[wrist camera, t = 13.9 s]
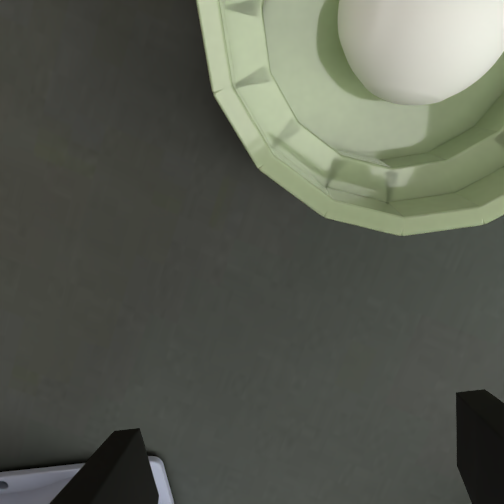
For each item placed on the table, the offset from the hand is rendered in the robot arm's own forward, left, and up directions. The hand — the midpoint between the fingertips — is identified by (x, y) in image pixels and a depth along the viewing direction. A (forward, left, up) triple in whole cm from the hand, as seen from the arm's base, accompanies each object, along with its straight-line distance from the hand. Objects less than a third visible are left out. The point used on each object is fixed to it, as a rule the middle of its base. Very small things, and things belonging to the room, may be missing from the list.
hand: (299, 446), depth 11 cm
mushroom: (+5, +9, -9) cm, 14 cm away
